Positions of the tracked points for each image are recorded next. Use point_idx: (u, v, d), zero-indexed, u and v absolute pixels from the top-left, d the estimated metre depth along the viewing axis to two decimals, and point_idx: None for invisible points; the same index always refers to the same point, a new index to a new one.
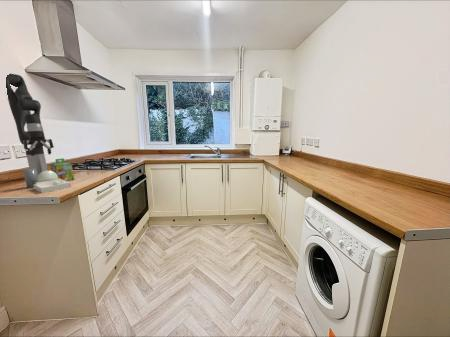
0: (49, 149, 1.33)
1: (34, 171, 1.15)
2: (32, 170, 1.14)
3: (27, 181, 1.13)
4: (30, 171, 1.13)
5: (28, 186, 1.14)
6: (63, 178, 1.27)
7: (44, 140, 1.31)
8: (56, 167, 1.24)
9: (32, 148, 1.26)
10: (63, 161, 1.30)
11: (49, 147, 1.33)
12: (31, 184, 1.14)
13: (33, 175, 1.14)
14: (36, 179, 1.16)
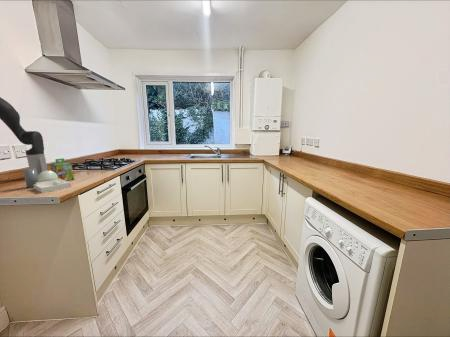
0: None
1: (34, 171, 1.15)
2: (32, 170, 1.14)
3: (27, 181, 1.13)
4: (30, 171, 1.13)
5: (28, 186, 1.14)
6: (63, 178, 1.27)
7: None
8: (56, 167, 1.24)
9: None
10: (63, 161, 1.30)
11: None
12: (31, 184, 1.14)
13: (33, 175, 1.14)
14: (36, 179, 1.16)
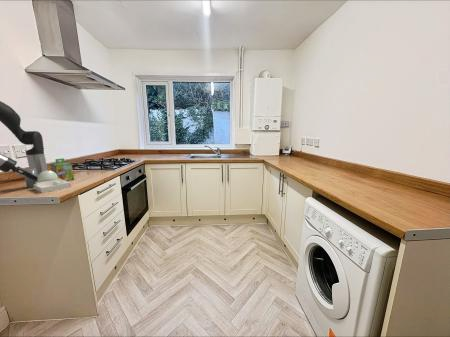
0: (29, 177, 1.13)
1: (34, 171, 1.15)
2: (32, 170, 1.14)
3: (27, 181, 1.13)
4: (30, 171, 1.13)
5: (28, 186, 1.14)
6: (63, 178, 1.27)
7: (16, 171, 1.08)
8: (56, 167, 1.24)
9: None
10: (63, 161, 1.30)
11: (26, 176, 1.11)
12: (31, 184, 1.14)
13: None
14: None
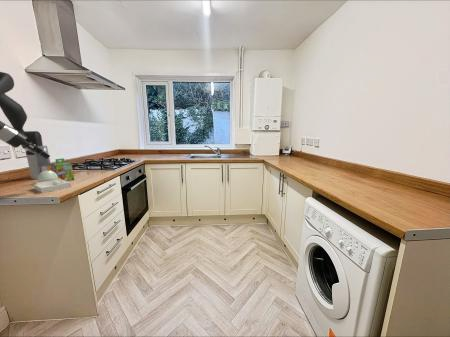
0: None
1: (45, 148, 1.06)
2: (43, 147, 1.05)
3: (38, 159, 1.05)
4: (41, 148, 1.04)
5: (39, 164, 1.05)
6: (63, 178, 1.27)
7: (26, 147, 0.99)
8: (56, 167, 1.24)
9: (34, 152, 1.06)
10: (63, 161, 1.30)
11: (38, 153, 1.03)
12: (42, 162, 1.05)
13: None
14: None
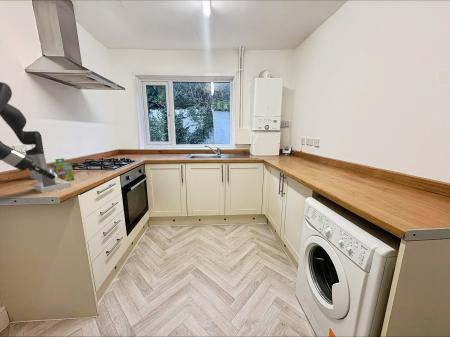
0: (46, 176, 1.06)
1: (52, 171, 1.09)
2: (50, 170, 1.08)
3: (44, 181, 1.07)
4: (48, 171, 1.07)
5: None
6: (63, 178, 1.27)
7: (32, 169, 1.02)
8: (56, 167, 1.24)
9: None
10: (63, 161, 1.30)
11: None
12: (48, 185, 1.08)
13: None
14: (53, 179, 1.10)
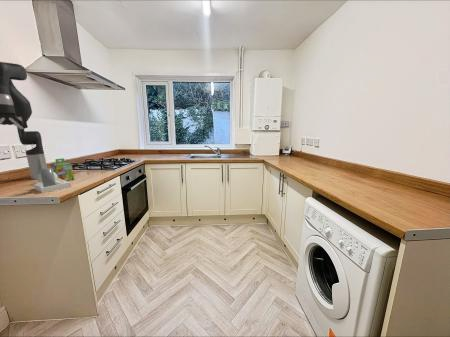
0: (21, 130, 1.03)
1: (51, 171, 1.09)
2: (49, 170, 1.08)
3: (44, 182, 1.07)
4: (47, 171, 1.07)
5: None
6: (63, 178, 1.27)
7: (14, 117, 1.00)
8: (56, 167, 1.24)
9: None
10: (63, 161, 1.30)
11: (21, 127, 1.03)
12: (48, 185, 1.08)
13: (50, 175, 1.08)
14: (53, 179, 1.10)
